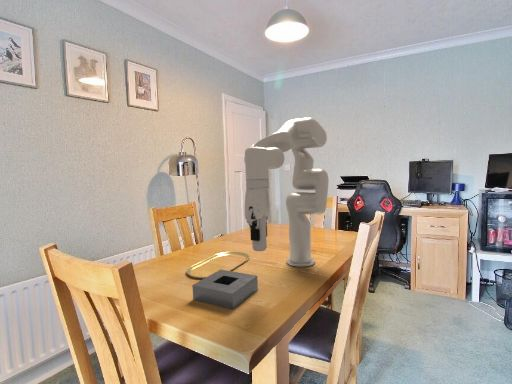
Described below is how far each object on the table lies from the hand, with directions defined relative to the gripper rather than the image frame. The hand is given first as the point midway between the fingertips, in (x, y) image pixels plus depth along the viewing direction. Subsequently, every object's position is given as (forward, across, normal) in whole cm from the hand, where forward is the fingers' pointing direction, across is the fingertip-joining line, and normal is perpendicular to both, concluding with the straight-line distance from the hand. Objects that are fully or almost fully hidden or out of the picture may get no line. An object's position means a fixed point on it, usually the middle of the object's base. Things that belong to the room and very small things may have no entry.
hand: (259, 238), depth 97 cm
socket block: (+19, +5, -11) cm, 23 cm away
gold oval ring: (+20, -20, -30) cm, 41 cm away
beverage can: (+4, 0, 0) cm, 4 cm away
